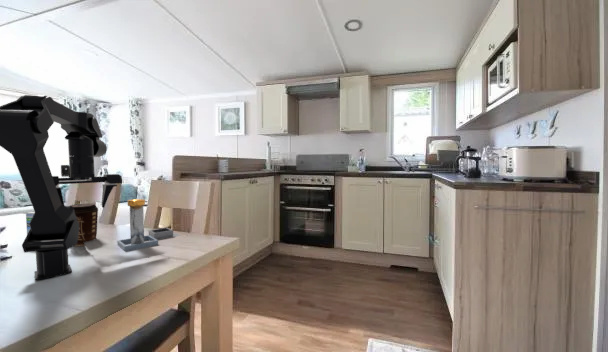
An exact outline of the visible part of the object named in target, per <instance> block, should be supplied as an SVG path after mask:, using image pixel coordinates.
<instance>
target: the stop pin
mask: <svg viewBox="0 0 608 352" xmlns="http://www.w3.org/2000/svg"><path fill="white" fill-rule="evenodd" d="M144 205H146V199H145V198H139V199H138V198H134V199H128V200H127V206H128V207H129V224H130V226H129V234H130V236H129V237H130V238H131V243H130V245H133V244H139V243H144V242H145V240H144V236H145V224H144V222H145V220H144V215H145V214H144Z"/></svg>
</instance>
